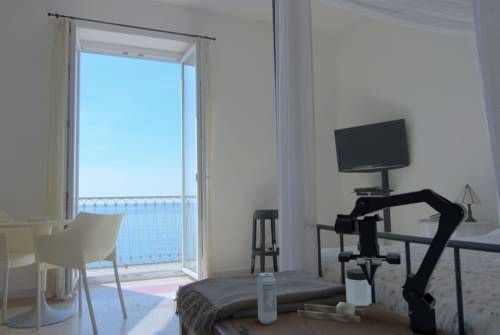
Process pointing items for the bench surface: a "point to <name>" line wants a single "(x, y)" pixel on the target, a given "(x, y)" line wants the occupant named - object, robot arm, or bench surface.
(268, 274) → the energy drink can
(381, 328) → the bench surface
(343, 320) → the chute
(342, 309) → the block
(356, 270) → the jar
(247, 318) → the bench surface
